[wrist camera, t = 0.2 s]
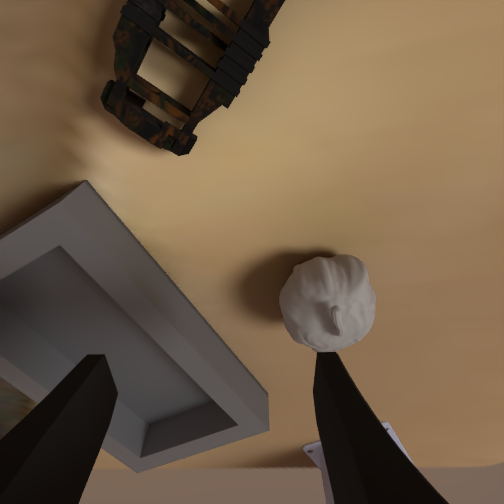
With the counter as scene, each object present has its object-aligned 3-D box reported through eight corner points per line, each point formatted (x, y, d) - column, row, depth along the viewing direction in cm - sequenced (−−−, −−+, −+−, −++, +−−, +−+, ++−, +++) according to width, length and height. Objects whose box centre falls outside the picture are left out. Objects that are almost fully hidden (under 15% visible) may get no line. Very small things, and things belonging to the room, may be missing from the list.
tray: (268, 393, 27) (269, 430, 24) (147, 436, 30) (137, 473, 28) (86, 179, 18) (59, 202, 15) (-60, 272, 21) (-102, 304, 19)
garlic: (295, 226, 20) (308, 281, 15) (382, 250, 20) (418, 309, 16) (263, 305, 22) (265, 370, 18) (339, 323, 23) (360, 389, 19)
